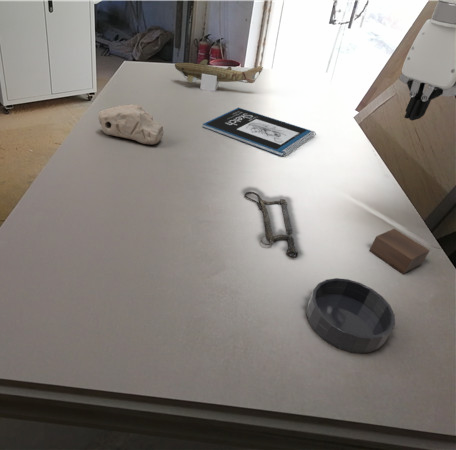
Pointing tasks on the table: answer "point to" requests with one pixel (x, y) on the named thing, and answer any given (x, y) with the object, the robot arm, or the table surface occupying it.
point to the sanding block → (399, 251)
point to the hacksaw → (292, 248)
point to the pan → (350, 315)
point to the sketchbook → (260, 131)
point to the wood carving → (214, 74)
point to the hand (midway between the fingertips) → (412, 117)
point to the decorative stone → (131, 124)
